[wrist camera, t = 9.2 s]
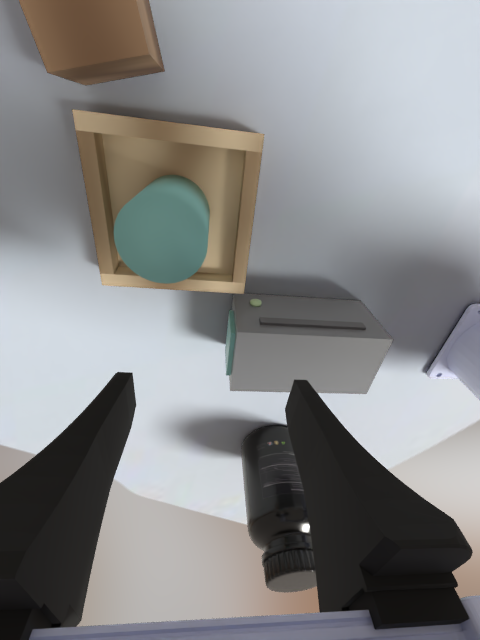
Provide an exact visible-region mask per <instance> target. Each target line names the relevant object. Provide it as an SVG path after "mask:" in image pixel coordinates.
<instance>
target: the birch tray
mask: <svg viewBox="0 0 480 640" xmlns="http://www.w3.org/2000/svg"><path fill="white" fill-rule="evenodd" d="M72 112H73V118H74V124H75V129H76V135H77V141H78V147H79V153H80V159H81V164H82V170H83V176H84V182H85V188H86V194H87V199H88V205H89V211H90V217H91V223H92V229H93V234H94V240H95V246H96V252H97V258H98V264H99V269H100V275H101V281H102V285H107V286H123V287H139V288H156V289H172V290H188V291H204V292H220V293H236V294H244V288H245V280H246V273H247V265H248V257H249V249H250V242H251V234H252V226H253V218H254V210H255V203H256V195H257V187H258V179H259V172H260V164H261V156H262V148H263V141H264V134H260V133H252V132H244V131H237V130H229V129H221V128H213V127H206V126H198V125H190V124H182V123H174V122H167V121H159V120H151V119H143V118H135V117H128V116H120V115H112V114H104V113H96V112H89V111H81V110H73V109H72ZM165 175H179V176H183V177H185V178H188V179H190V180H191V181H193V182H194V183H195V184H196V185H198V186H199V188H200V189H201V190H202V191H203V193H204V194H205V196H206V198H207V201H208V204H209V210H210V218H209V233H208V248H207V254H206V257H205V260H204V262H203V264H202V265H201V267H200V268H199V269H198V271H197V272H196V273H195V274H193V275H192V276H191V277H189V278H187V279H185V280H183V281H180V282H176V283H169V284H164V283H156V282H152V281H149V280H147V279H145V278H142V277H141V276H139V275H137V274H136V273H135V272H133V271H132V270H131V269H130V268H129V267H128V266H127V265H126V264H125V263H124V261H123V260H122V258H121V257H120V255H119V253H118V251H117V248H116V245H115V241H114V225H115V220H116V218H117V215H118V213H119V212H120V210H121V209H122V208H123V206H124V205H125V204H126V203H128V202H129V201H130V200H131V199H132V198H133V197H135V196H136V195H137V194H138V193H139V192H141V191H142V190H143V189H144V188H145V187H147V186H148V185H149V184H150V183H151V182H152V181H154V180H155V179H157V178H159V177H161V176H165Z"/></svg>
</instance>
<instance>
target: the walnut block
mask: <svg viewBox="0 0 480 640" xmlns="http://www.w3.org/2000/svg"><path fill="white" fill-rule="evenodd" d="M19 2H20V5H21V7H22V10H23V12H24V15H25V17H26V20H27V22H28V25H29V27H30V30H31V32H32V35H33V37H34V40H35V42H36V45H37V48H38V50H39V53H40V55H41V58H42V60H43V63H44V65H45V68H46V70H47V73H50V74H53V75H56V76H59V77H62V78H65V79H68V80H71V81H74V82H77V83H80V84H83V85H92V84H97V83H103V82H108V81H114V80H119V79H125V78H130V77H136V76H142V75H147V74H153V73H158V72H164V66H163V62H162V57H161V53H160V48H159V44H158V39H157V35H156V30H155V26H154V21H153V17H152V12H151V8H150V4H149V0H19Z"/></svg>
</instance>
